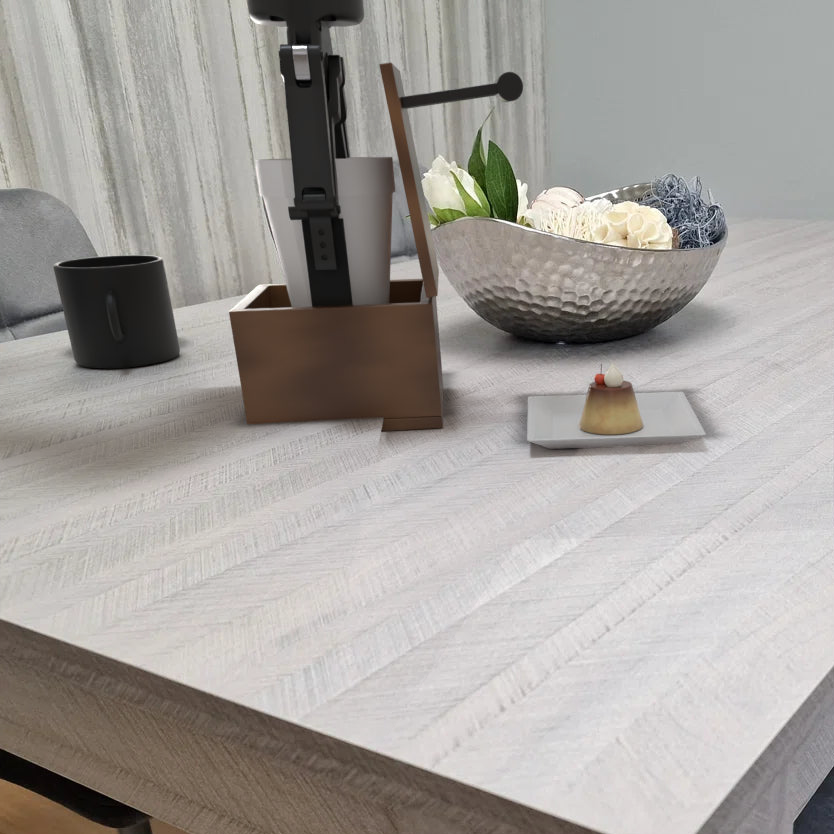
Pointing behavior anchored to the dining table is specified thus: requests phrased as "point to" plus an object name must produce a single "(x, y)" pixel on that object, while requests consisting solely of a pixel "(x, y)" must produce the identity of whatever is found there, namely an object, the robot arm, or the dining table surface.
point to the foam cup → (363, 223)
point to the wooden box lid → (505, 91)
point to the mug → (117, 310)
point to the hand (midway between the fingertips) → (340, 305)
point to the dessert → (611, 417)
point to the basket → (340, 358)
